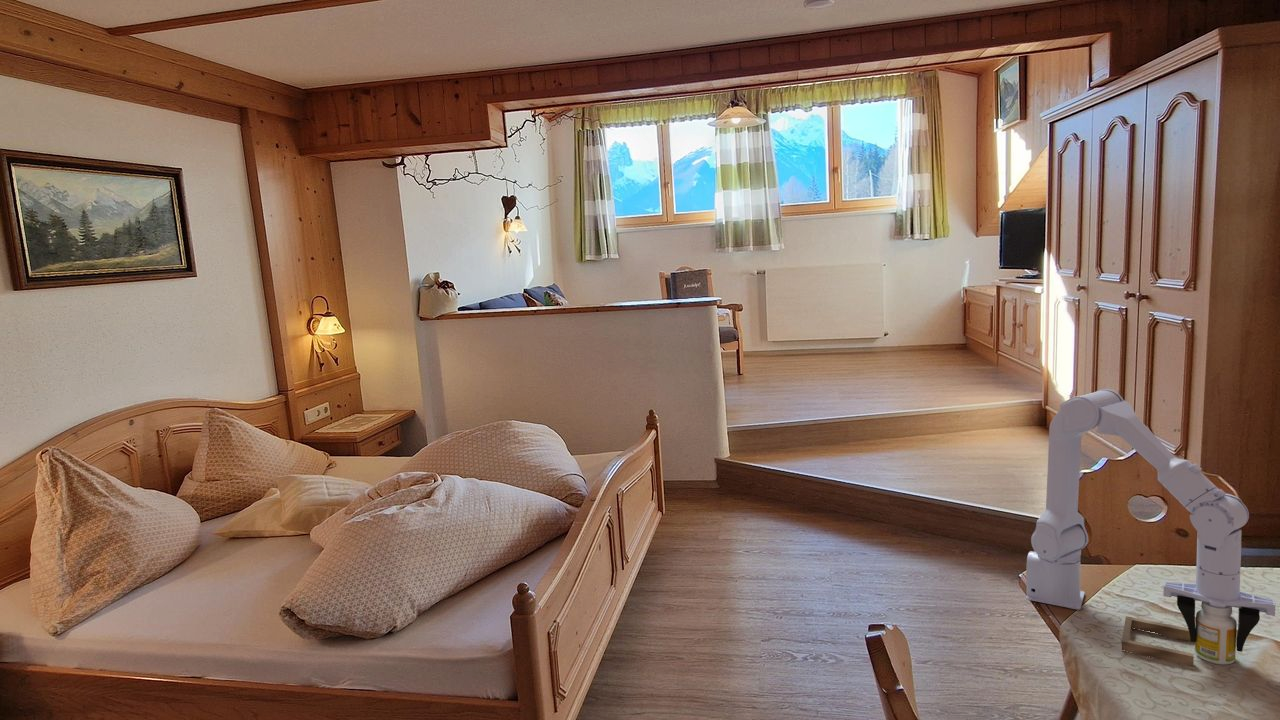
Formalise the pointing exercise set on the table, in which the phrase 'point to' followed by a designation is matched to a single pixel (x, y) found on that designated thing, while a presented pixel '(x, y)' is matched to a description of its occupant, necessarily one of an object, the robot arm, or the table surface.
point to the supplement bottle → (1215, 634)
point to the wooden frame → (1154, 650)
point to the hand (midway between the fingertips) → (1215, 643)
